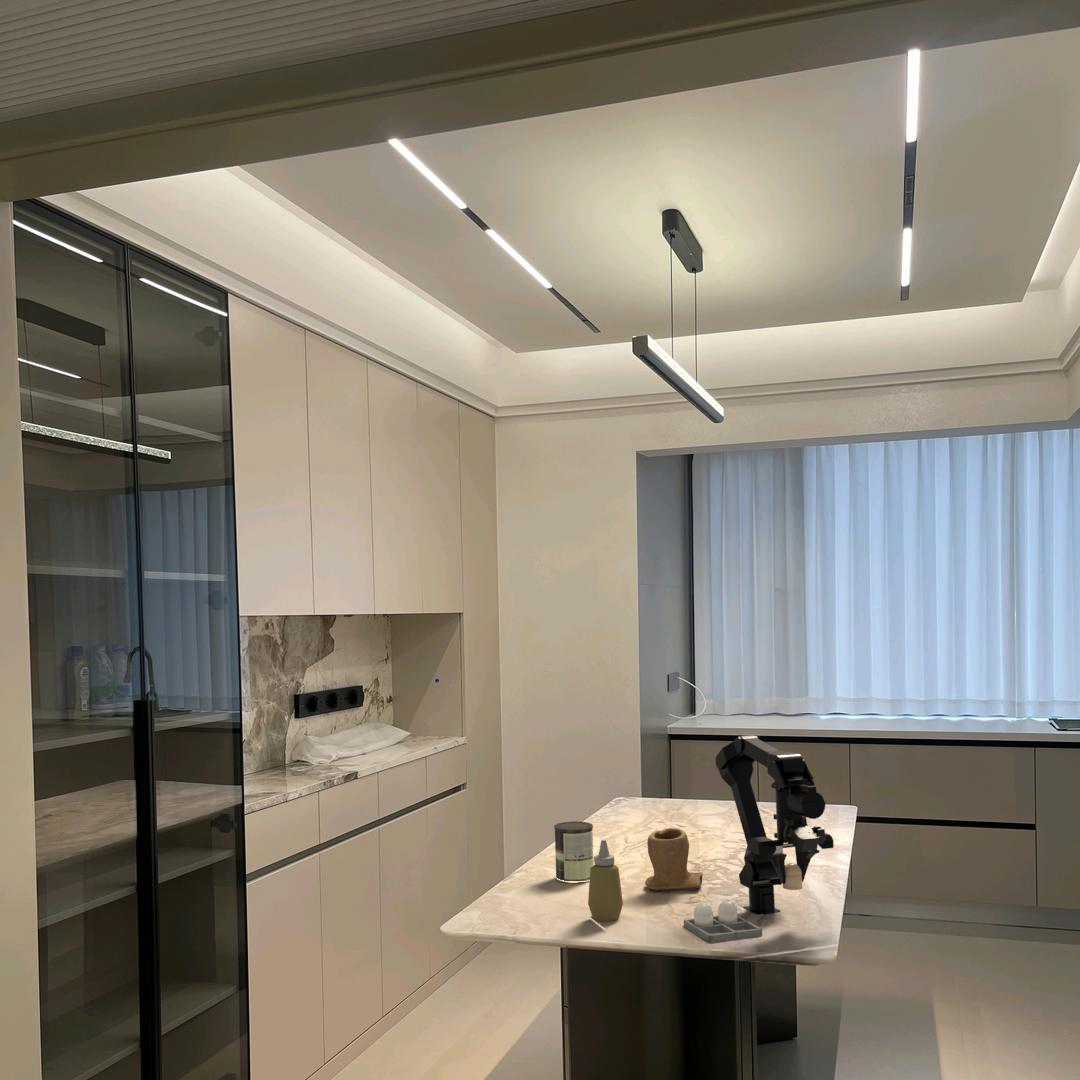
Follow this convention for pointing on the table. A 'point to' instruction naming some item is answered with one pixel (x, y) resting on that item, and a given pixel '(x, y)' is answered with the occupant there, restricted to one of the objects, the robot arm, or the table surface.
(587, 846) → the coffee can
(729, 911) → the white egg left
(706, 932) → the egg carton
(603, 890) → the squeeze bottle
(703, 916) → the white egg back
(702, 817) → the table surface
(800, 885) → the brown egg
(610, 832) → the table surface
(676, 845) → the stone cup
